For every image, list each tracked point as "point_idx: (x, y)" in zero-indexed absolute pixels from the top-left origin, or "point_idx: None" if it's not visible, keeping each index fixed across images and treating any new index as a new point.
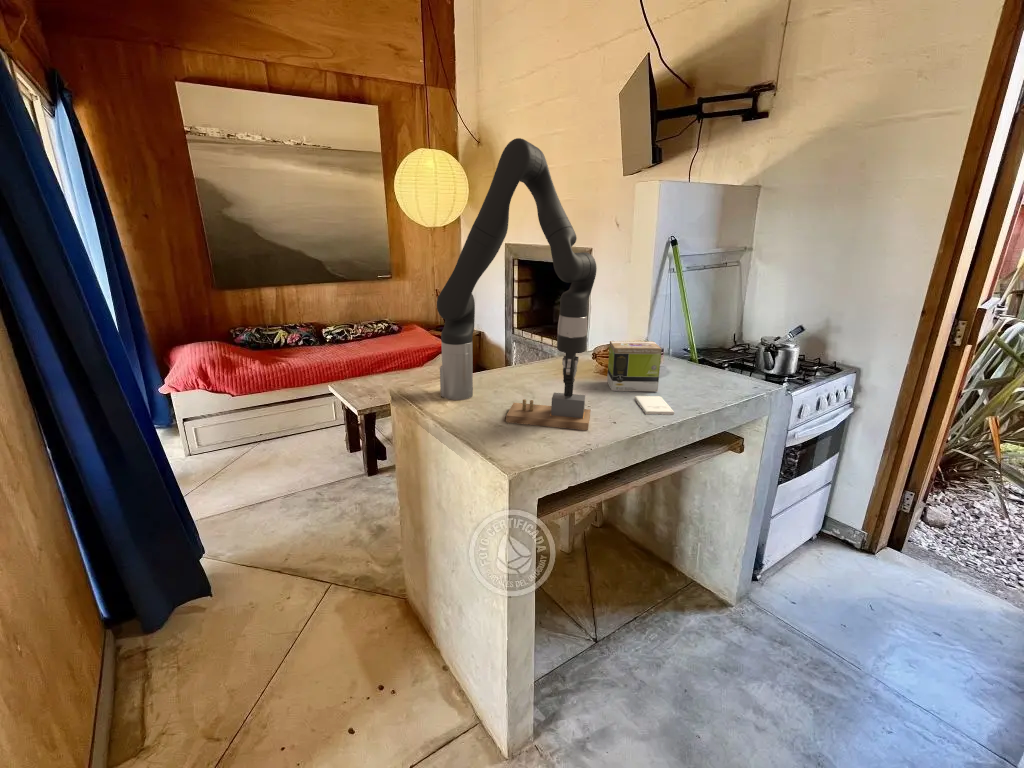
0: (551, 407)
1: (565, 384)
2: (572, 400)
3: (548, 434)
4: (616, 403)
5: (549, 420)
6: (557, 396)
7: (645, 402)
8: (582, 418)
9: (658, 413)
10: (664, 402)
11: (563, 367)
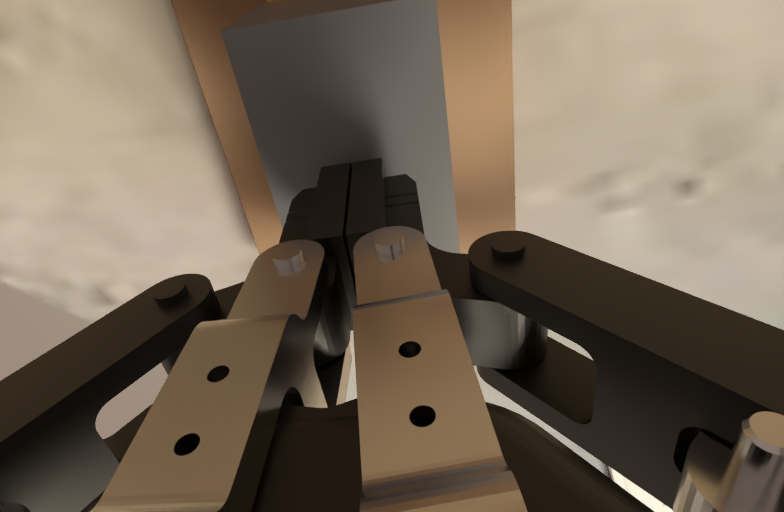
0: (248, 13)
1: (310, 239)
2: None
3: (61, 45)
4: (754, 318)
5: (177, 14)
6: (310, 81)
7: None
8: None
9: (612, 478)
10: None
11: (128, 461)
